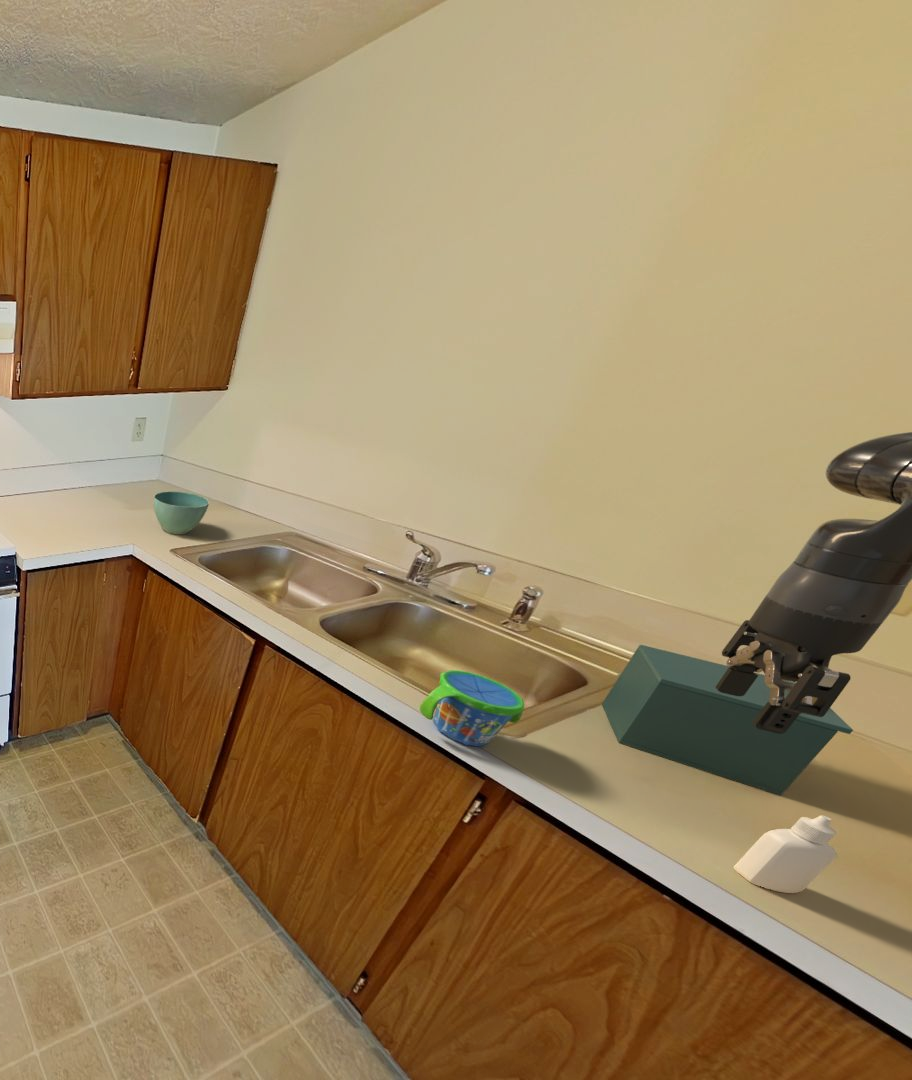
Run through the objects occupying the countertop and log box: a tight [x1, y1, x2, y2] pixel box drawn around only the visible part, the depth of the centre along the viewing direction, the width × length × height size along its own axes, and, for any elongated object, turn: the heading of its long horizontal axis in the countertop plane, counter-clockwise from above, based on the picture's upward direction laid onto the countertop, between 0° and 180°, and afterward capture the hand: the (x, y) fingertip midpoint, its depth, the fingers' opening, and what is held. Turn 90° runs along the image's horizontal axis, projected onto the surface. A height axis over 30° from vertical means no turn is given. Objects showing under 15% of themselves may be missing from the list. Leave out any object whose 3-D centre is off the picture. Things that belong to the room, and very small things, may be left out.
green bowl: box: [153, 490, 210, 535], centre depth 182 cm, size 18×18×12 cm
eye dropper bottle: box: [733, 814, 838, 894], centre depth 65 cm, size 4×6×12 cm
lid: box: [637, 644, 854, 735], centre depth 83 cm, size 18×14×5 cm
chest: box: [601, 647, 839, 797], centre depth 87 cm, size 17×14×13 cm
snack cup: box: [419, 669, 525, 747], centre depth 90 cm, size 16×10×10 cm
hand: (746, 710), depth 67 cm, fingers open, 8 cm apart
